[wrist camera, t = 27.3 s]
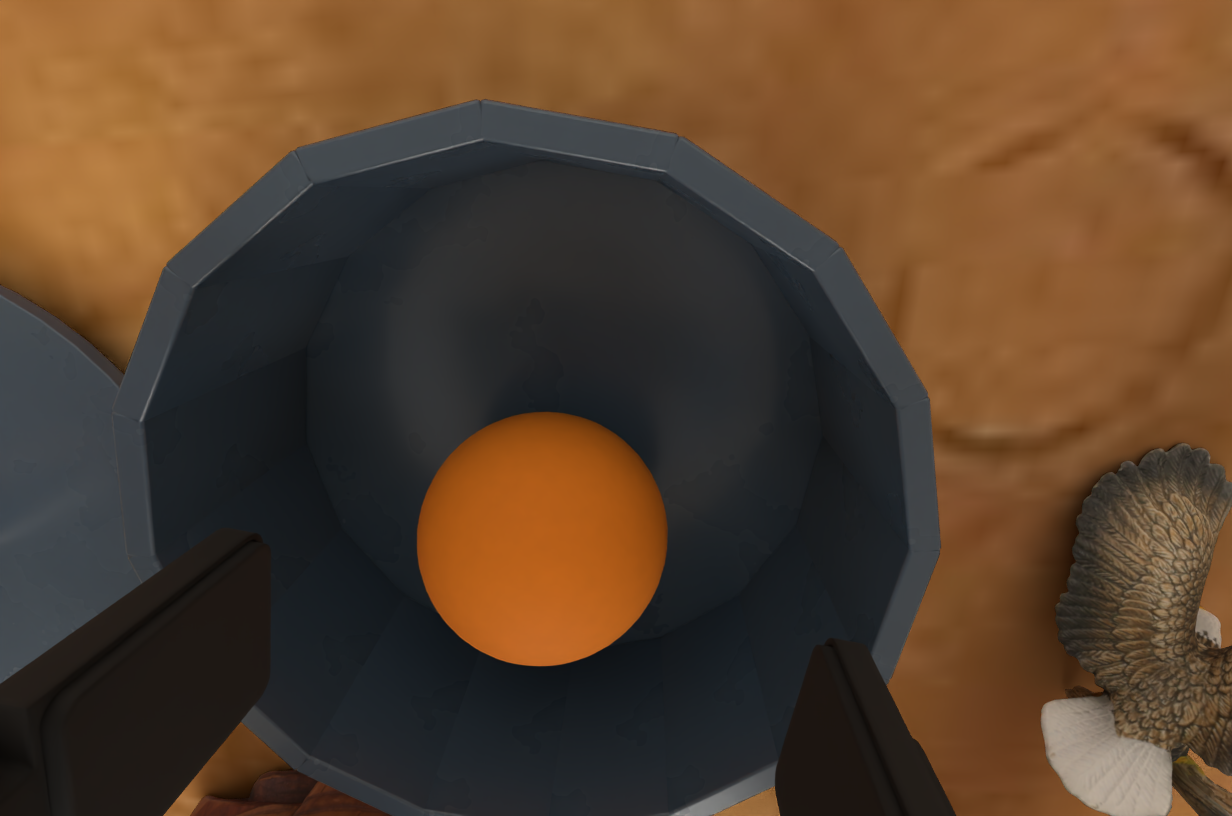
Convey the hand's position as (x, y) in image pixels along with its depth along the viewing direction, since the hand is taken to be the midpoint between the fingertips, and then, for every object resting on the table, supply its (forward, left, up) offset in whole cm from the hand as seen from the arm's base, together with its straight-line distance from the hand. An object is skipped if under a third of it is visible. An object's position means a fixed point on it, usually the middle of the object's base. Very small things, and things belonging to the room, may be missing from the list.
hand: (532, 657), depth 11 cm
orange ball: (-1, 0, -5) cm, 5 cm away
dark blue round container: (+1, +1, -8) cm, 8 cm away
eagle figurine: (-1, -17, -9) cm, 19 cm away
